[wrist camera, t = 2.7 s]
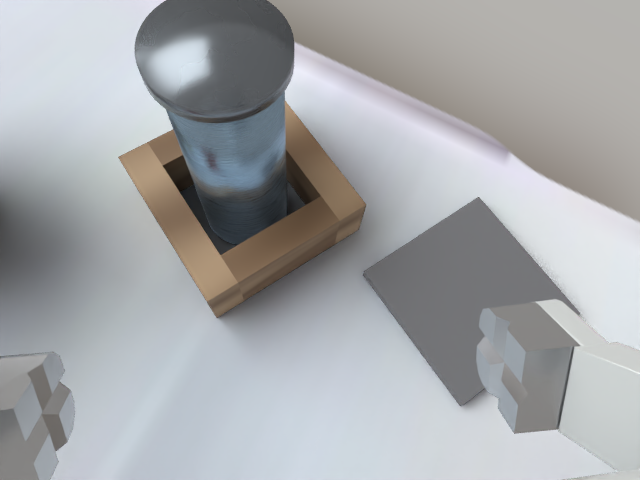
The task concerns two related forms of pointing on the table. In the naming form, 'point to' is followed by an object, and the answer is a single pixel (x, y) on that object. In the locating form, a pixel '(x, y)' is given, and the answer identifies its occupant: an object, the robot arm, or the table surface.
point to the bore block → (266, 246)
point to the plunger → (224, 103)
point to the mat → (458, 289)
